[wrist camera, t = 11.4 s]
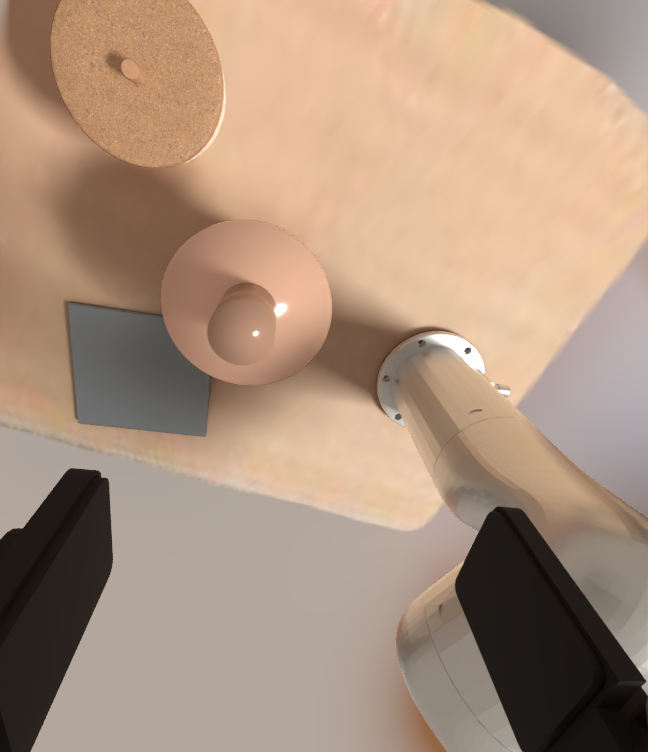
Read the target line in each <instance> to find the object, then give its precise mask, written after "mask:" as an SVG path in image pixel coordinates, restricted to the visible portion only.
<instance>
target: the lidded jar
mask: <svg viewBox="0 0 648 752" xmlns="http://www.w3.org/2000/svg"><path fill="white" fill-rule="evenodd" d="M50 56H51V62H52V68H53V73H54V77H55V80H56V84H57V87H58V89H59V92H60V94H61V97H62V99H63V101H64V103H65V105H66V107H67V109H68V110H69V112H70V114H71V116H72V117H73V118H74V120H75V121H76V123H77V124H78V125H79V127H80V128H81V129H82V130H83V131H84V132H85V134H86V135H87V136H88V137H89V138H90V139H91V140H92V141H93V142H94V143H96V144H97V145H98V146H99V147H101V148H102V149H103V150H104V151H106V152H108V153H109V154H111V155H112V156H114V157H115V158H118V159H120V160H122V161H124V162H127V163H129V164H133V165H136V166H140V167H147V168H167V167H172V166H177V165H181V164H185V163H187V162H189V161H191V160H194V159H195V158H197V157H198V156H199V155H201V154H202V153H204V152H205V151H206V150H207V149H208V147H209V146H210V145H211V144H212V142H213V141H214V140H215V138H216V136H217V134H218V132H219V130H220V128H221V125H222V121H223V118H224V112H225V105H226V89H225V82H224V75H223V71H222V67H221V63H220V60H219V56H218V52H217V50H216V47H215V45H214V42H213V40H212V37H211V35H210V33H209V31H208V29H207V28H206V26H205V24H204V22H203V20H202V18H201V17H200V16H199V14H198V13H197V12H196V10H195V9H194V7H193V6H192V5H191V4H190V2H189V1H188V0H61V1H60V3H59V5H58V7H57V9H56V12H55V15H54V19H53V22H52V28H51V36H50Z"/></svg>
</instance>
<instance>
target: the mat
mask: <svg viewBox="0 0 648 752" xmlns="http://www.w3.org/2000/svg"><path fill="white" fill-rule="evenodd" d="M68 315H69V326H70V338H71V349H72V361H73V372H74V384H75V395H76V407H77V418H78V423H80V424H90V425H99V426H109V427H118V428H128V429H137V430H146V431H156V432H165V433H175V434H184V435H194V436H203V437H205V436H206V428H207V415H208V402H209V389H210V375H208V374H207V373H205V372H203V371H201V370H200V369H199V368H197V367H196V366H195V365H193V364H192V363H191V362H190V361H189V360H188V359H187V358H186V357H185V356H184V355H183V354H182V353H181V352H180V351H179V349H178V348H177V346H176V345H175V343H174V342H173V341H172V339H171V337H170V335H169V333H168V331H167V328H166V325H165V322H164V319H163V316H160V315H153V314H147V313H140V312H134V311H127V310H120V309H114V308H107V307H100V306H94V305H87V304H81V303H74V302H70V303H68Z"/></svg>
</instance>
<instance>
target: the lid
mask: <svg viewBox="0 0 648 752" xmlns="http://www.w3.org/2000/svg"><path fill="white" fill-rule="evenodd" d="M161 310H162V315H163V319H164V322H165V325H166V328H167V331H168V333H169V335H170V337H171V339H172V341H173V342H174V343H175V345H176V346H177V348H178V349H179V351H180V352H181V353H182V354H183V355H184V356H185V357H186V358H187V359H188V360H189V361H190V362H191V363H192V364H193V365H195V366H196V367H197V368H199V369H200V370H201V371H203V372H205V373H207V374H208V375H210V376H212V377H215V378H217V379H219V380H222V381H226V382H229V383H233V384H239V385H264V384H269V383H274V382H277V381H280V380H283V379H285V378H287V377H290V376H292V375H293V374H295V373H297V372H298V371H300V370H301V369H302V368H304V367H305V366H306V365H307V364H308V363H309V362H310V361H311V360H312V359H313V358H314V357H315V356H316V354H317V353H318V352H319V350H320V349H321V347H322V345H323V343H324V342H325V339H326V337H327V334H328V331H329V328H330V324H331V317H332V299H331V292H330V288H329V284H328V281H327V278H326V276H325V274H324V271H323V269H322V267H321V265H320V264H319V262H318V260H317V259H316V257H315V256H314V255H313V254H312V252H311V251H310V250H309V249H308V248H307V247H306V246H305V245H304V244H303V243H302V242H301V241H300V240H298V239H297V238H296V237H294V236H293V235H292V234H290V233H288V232H287V231H285V230H283V229H281V228H279V227H276V226H274V225H271V224H268V223H264V222H260V221H254V220H231V221H225V222H221V223H218V224H214V225H211V226H209V227H207V228H205V229H203V230H201V231H199V232H198V233H196V234H195V235H193V236H192V237H191V238H189V239H188V240H187V241H186V242H185V243H184V244H183V245H182V246H181V247H180V248H179V249H178V250H177V252H176V253H175V254H174V255H173V257H172V259H171V261H170V262H169V264H168V266H167V269H166V272H165V274H164V277H163V282H162V286H161Z"/></svg>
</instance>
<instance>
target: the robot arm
mask: <svg viewBox="0 0 648 752" xmlns="http://www.w3.org/2000/svg"><path fill="white" fill-rule="evenodd" d="M420 340H421V342H419V341H420ZM465 348H466V349H465ZM385 375H387V376H386V377H384V376H385ZM509 394H510V388H509V386H507V385H501V384H494V383H493V382H492V381H491V380H490V379H489V378H488V377H487V376H486V375H485V368H484V362H483V360H482V358H481V355H480V353H479V352H478V351H477V349H476V348H475V347H474V346H473V345H472V344H471V343H470V342H469V341H468V340H466V339H464V338H463V337H461V336H460V335H457V334H454V333H452V332H446V331H429V332H424V333H420V334H417V335H415V336H412V337H410V338H408V339H407V340H405V341H403V342H402V343H400V344H399V345H398V346H397V347H396V348H394V349H393V350H392V351H391V353H390V354H389V355H388V356H387V357H386V359H385V361H384V362H383V364H382V366H381V368H380V371H379V374H378V378H377V395H378V398H379V401H380V404H381V406H382V408H383V410H384V411H385V413H386V414H387V415H388V417H390V418H391V419H392V420H393V421H394V422H396V423H398V424H399V425H401V426H403V427H407V429H408V431H409V433H410V435H411V437H412V439H413V441H414V443H415V445H416V447H417V450H418V452H419V454H420V456H421V458H422V460H423V462H424V464H425V466H426V468H427V470H428V472H429V474H430V476H431V478H432V480H433V482H434V484H435V486H436V488H437V490H438V492H439V494H440V496H441V498H442V500H443V501H444V503H445V505H446V506H447V507H448V509H449V510H450V511H451V512H452V513H453V514H454V515H455V516H456V517H457V518H458V519H459V520H461V521H462V522H463V523H465V524H467V525H468V526H470V527H472V528H474V529H476V530H478V531H479V533H478V535H477V537H476V539H475V541H474V543H473V545H472V547H471V549H470V551H469V553H468V555H467V557H466V559H465V560H464V561H463V562H461V563H460V564H459V565H458V566H456V567H455V568H454V569H452V570H451V571H450V572H449V573H447V574H446V575H445V576H443V577H442V578H441V579H439V580H438V581H437V582H436V583H434V584H433V585H432V586H430V587H429V588H428V589H427V590H426V591H424V592H423V593H422V594H421V595H420V596H419V597H417V598H416V599H415V600H414V601H413V602H412V603H411V604H410V605H409V606H408V608H407V609H406V610H405V612H404V613H403V615H402V617H401V619H400V622H399V624H398V628H397V634H396V648H397V657H398V661H399V665H400V668H401V672H402V675H403V678H404V680H405V683H406V685H407V687H408V690H409V692H410V694H411V696H412V698H413V700H414V702H415V704H416V705H417V707H418V709H419V711H420V712H421V714H422V716H423V717H424V719H425V720H426V722H427V723H428V725H429V727H430V728H431V730H432V731H433V733H434V734H435V735H436V737H437V738H438V739H439V741H440V742H441V744H442V745H443V746H444V748H445V749H446V750H447V752H648V518H647V517H646V516H645V515H643V514H642V513H640V512H639V511H638V510H636V509H634V508H633V507H632V506H630V505H629V504H628V503H626V502H625V501H623V500H622V499H621V498H619V497H618V496H616V495H615V494H614V493H612V492H611V491H609V490H608V489H607V488H605V487H604V486H602V485H601V484H600V483H599V482H597V481H596V480H595V479H593V478H592V477H591V476H590V475H588V474H587V473H586V472H584V471H583V470H582V469H581V468H579V467H578V466H577V465H576V464H575V463H574V462H573V461H572V460H570V459H569V458H568V457H567V456H566V455H565V454H564V453H563V452H562V451H560V450H559V449H558V448H557V447H556V446H555V445H554V444H553V443H552V442H551V441H550V440H548V438H546V437H545V436H544V435H543V434H542V433H541V432H540V431H539V430H538V429H537V428H536V427H535V426H534V425H533V424H532V423H531V422H530V421H529V420H527V418H526V417H525V416H524V415H523V414H522V413H521V412H520V411H518V410H517V409H516V408H515V407H514V406H513V405H512V404H511V403H510V402H509V401H508V400H507V399H506V398H505V397H508V396H509ZM112 563H113V553H112V534H111V515H110V495H109V481H108V479H107V478H101V473H100V472H99V471H96V470H85V469H74V468H71V469H69V470H68V471H67V472H66V473H65V474H64V475H63V477H62V478H61V479H60V481H59V482H58V483H57V485H56V486H55V487H54V488H53V490H52V491H51V492H50V494H49V495H48V496H47V498H46V499H45V500H44V502H43V503H42V504H41V506H40V507H39V508H38V510H37V511H36V512H35V513H34V515H33V516H32V517H31V519H30V520H29V522H28V523H27V524H26V525H25V527H24V528H23V529H20V528H18V529H12V530H11V531H9V532H7V533H6V534H5V535H4V536H3V537H2V538H1V540H0V752H30V751H31V749H32V747H33V745H34V743H35V740H36V738H37V736H38V734H39V731H40V729H41V727H42V725H43V723H44V720H45V718H46V716H47V713H48V711H49V709H50V707H51V705H52V703H53V700H54V698H55V696H56V694H57V691H58V689H59V687H60V685H61V683H62V680H63V678H64V676H65V673H66V671H67V669H68V667H69V665H70V662H71V660H72V658H73V656H74V654H75V651H76V649H77V647H78V645H79V643H80V640H81V638H82V636H83V634H84V631H85V629H86V627H87V625H88V622H89V620H90V618H91V616H92V614H93V611H94V609H95V607H96V605H97V603H98V600H99V598H100V596H101V593H102V591H103V589H104V587H105V585H106V583H107V580H108V578H109V575H110V572H111V568H112Z"/></svg>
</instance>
